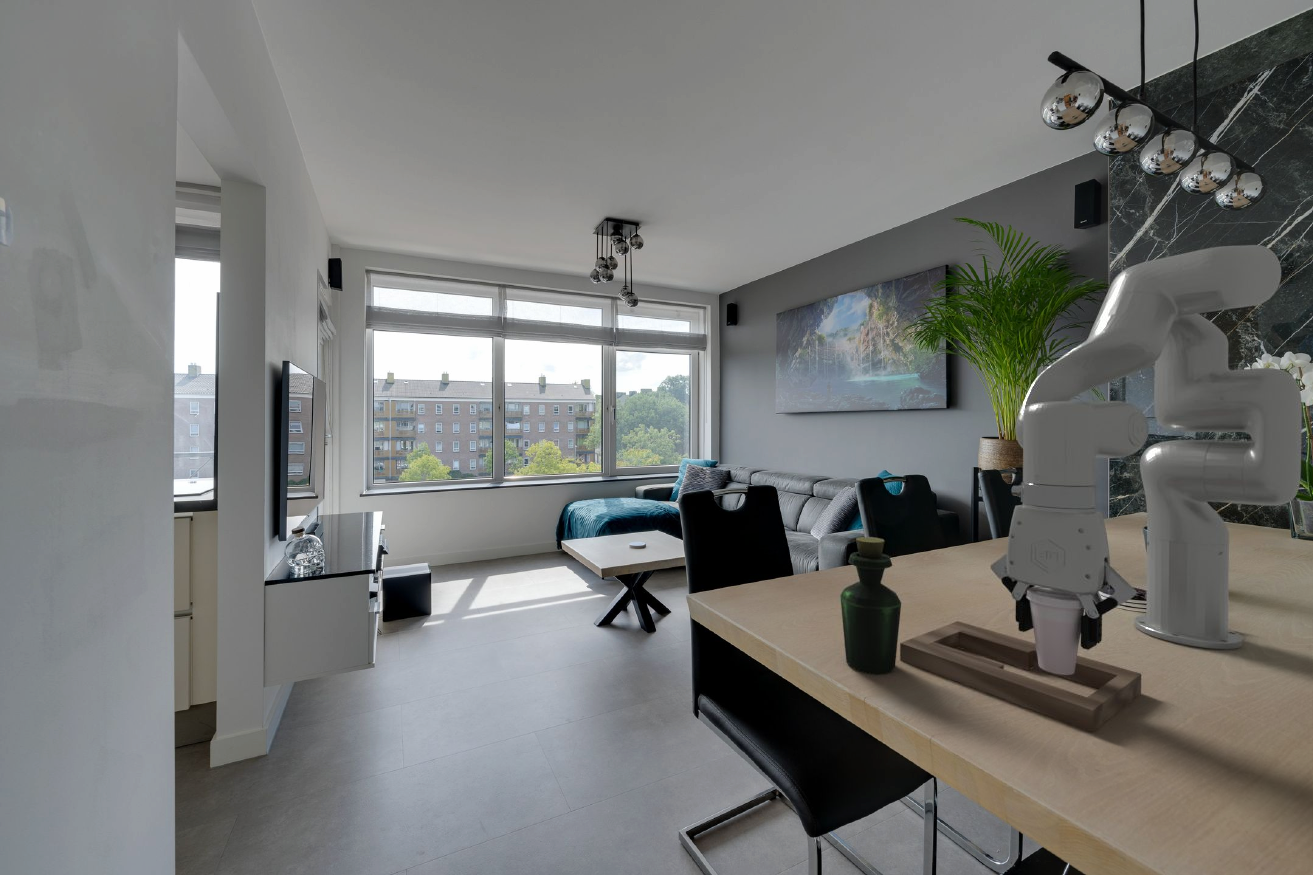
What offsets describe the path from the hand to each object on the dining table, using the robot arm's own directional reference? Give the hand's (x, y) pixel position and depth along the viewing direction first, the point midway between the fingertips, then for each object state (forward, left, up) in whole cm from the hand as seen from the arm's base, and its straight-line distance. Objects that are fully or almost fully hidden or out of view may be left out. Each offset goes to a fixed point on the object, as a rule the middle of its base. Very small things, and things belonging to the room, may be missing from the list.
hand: (1056, 636), depth 70 cm
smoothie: (0, 0, -4) cm, 4 cm away
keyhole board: (0, -5, -7) cm, 9 cm away
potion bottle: (+13, -18, -7) cm, 23 cm away
